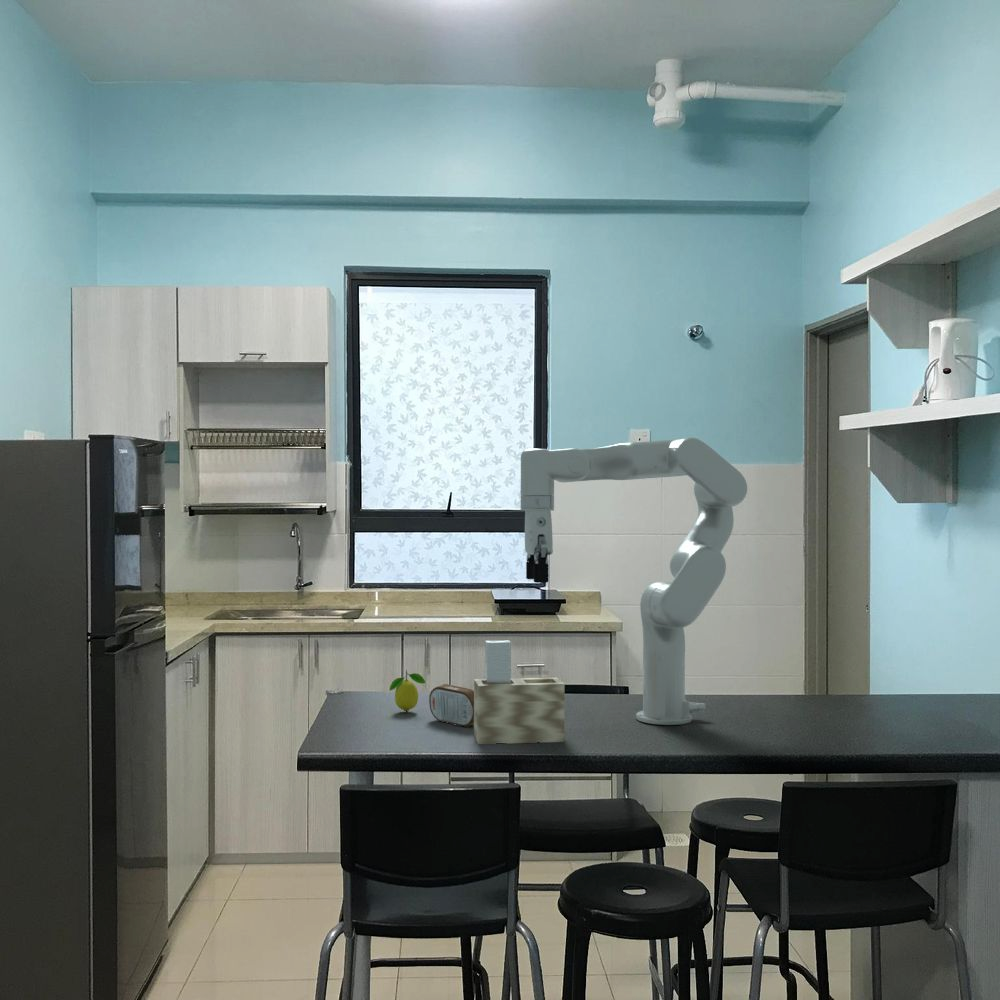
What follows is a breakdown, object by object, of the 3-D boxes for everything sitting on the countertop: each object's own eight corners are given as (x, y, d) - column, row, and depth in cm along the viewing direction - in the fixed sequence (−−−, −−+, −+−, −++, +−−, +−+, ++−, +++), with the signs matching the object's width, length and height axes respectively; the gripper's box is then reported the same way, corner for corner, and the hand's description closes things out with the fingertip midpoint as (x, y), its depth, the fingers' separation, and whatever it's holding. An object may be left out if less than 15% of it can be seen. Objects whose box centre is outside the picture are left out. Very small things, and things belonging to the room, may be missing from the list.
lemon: (425, 711, 239) (425, 669, 239) (412, 715, 233) (412, 672, 233) (401, 708, 242) (402, 667, 242) (388, 713, 236) (388, 670, 237)
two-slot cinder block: (556, 733, 216) (556, 677, 216) (564, 741, 208) (564, 684, 208) (473, 735, 214) (474, 679, 214) (478, 744, 206) (478, 685, 206)
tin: (483, 728, 221) (483, 690, 221) (473, 730, 219) (473, 691, 219) (436, 718, 231) (436, 681, 231) (426, 720, 229) (426, 683, 229)
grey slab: (508, 697, 212) (508, 640, 212) (510, 699, 209) (510, 642, 209) (485, 697, 212) (485, 640, 212) (486, 700, 209) (487, 642, 209)
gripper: (561, 504, 216) (561, 583, 216) (546, 504, 233) (546, 577, 233) (527, 504, 215) (526, 583, 215) (514, 504, 232) (514, 578, 232)
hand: (537, 580), depth 224 cm, fingers open, 9 cm apart
